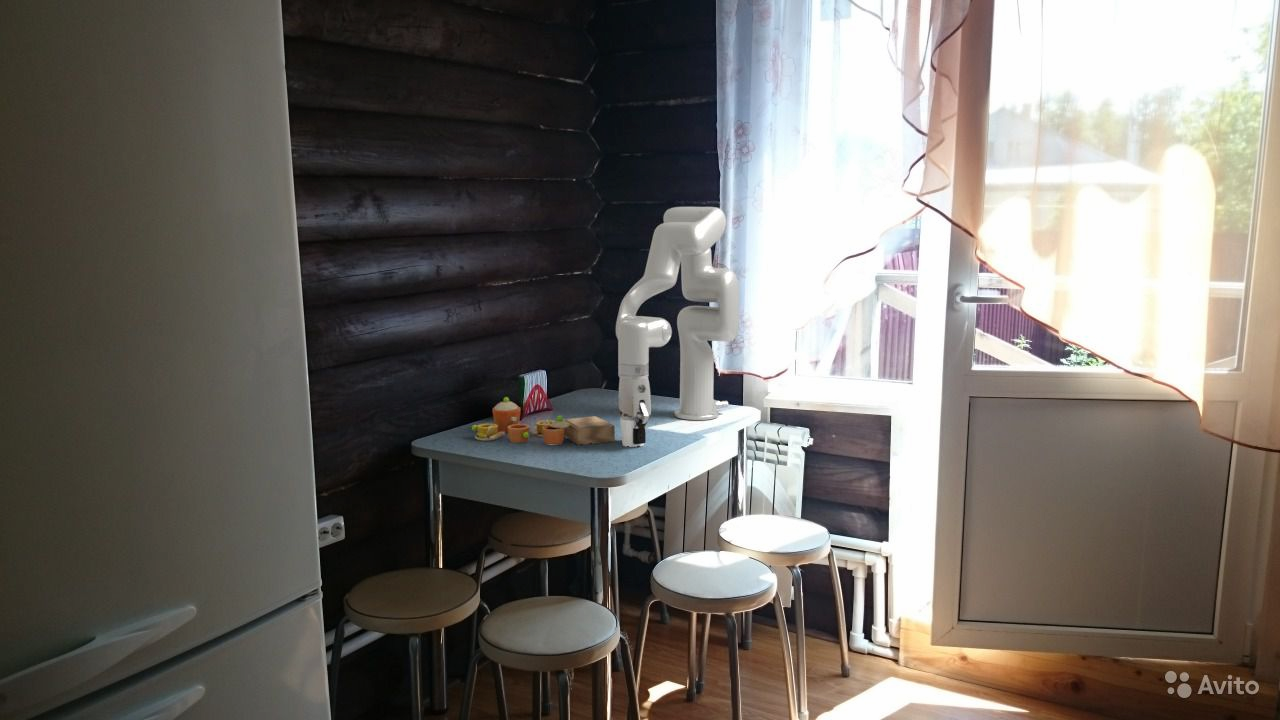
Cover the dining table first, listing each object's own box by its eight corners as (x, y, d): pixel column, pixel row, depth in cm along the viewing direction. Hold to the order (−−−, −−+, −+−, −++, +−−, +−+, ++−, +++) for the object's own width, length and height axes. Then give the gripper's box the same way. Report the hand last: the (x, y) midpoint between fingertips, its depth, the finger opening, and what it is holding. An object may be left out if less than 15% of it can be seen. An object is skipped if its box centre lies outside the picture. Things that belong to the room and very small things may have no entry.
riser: (596, 431, 245) (596, 415, 244) (614, 440, 234) (614, 424, 233) (561, 434, 240) (561, 418, 240) (578, 445, 230) (577, 428, 229)
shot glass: (649, 441, 234) (649, 414, 232) (644, 448, 227) (644, 420, 226) (622, 440, 235) (622, 413, 234) (617, 447, 228) (617, 419, 227)
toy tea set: (466, 441, 235) (465, 404, 233) (493, 428, 249) (492, 393, 248) (561, 449, 227) (560, 411, 225) (583, 434, 242) (582, 399, 240)
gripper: (662, 374, 222) (662, 446, 224) (632, 364, 237) (632, 431, 240) (634, 376, 218) (634, 450, 221) (605, 366, 234) (606, 434, 237)
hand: (633, 439), depth 231 cm, fingers closed on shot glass, 6 cm apart
